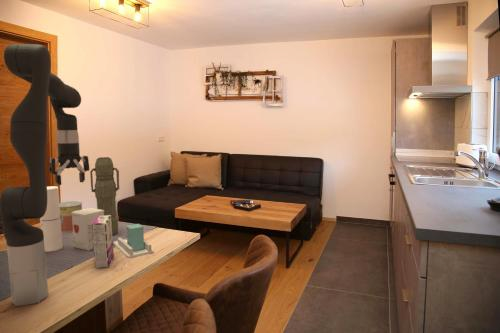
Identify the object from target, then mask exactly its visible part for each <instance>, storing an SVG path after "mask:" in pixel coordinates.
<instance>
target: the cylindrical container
mask: <svg viewBox="0 0 500 333" xmlns="http://www.w3.org/2000/svg"><path fill="white" fill-rule="evenodd" d="M59 197H60V195H59V187H58V186H52V185H51V186H47V209H46V212H45V214H44V216H43V217H41V218H39V223H40V224H39V225H40V229H42V231H43V234H44V247H45V253H47V252H48V253H49V252H56V251H60V250H62V249H63V237H62V236H63V235H62V234H63V232H61V220H60V206H59V203H60V198H59Z"/></svg>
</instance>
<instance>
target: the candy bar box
mask: <svg viewBox="0 0 500 333" xmlns="http://www.w3.org/2000/svg"><path fill="white" fill-rule="evenodd" d="M92 232H93V245H94V249H93V254H94V255H93V257H94V258H93V259H94V269H104V268H107V269H108V268H109V267H110V266H111V263H112V261H113V259H114V256H115V255H114V244H113V242H114V241H113V240H114V239H113V237H114V236H112V223H111V215H103V216H102V215H101V216H98V217H97V218H96V220H95V221H94V222H93V224H92Z"/></svg>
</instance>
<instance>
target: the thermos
mask: <svg viewBox="0 0 500 333" xmlns="http://www.w3.org/2000/svg"><path fill="white" fill-rule="evenodd" d="M119 171H120V170H119V169H118V168H117V167H114V163H113V160H112V158H111V157H109V156H108V157H107V156H106V157H105V156H104V157H103V156H102V157H98V158H96V160H95V164H94V168H91V170H89V173H90V175H89V176H90V187H91V188H90V189H91V192H92V193H94V196H95V199H96V209H100V210H104V215H111V223H112V237H115V236H116V235H118V234H119V230H118V229H119V222H118V218H117V204H116V197H117V192H118V190H120V172H119ZM93 172H95V182H94V179H93V178H94V177H93ZM114 172H116V174H115V173H114ZM114 174H115V175H116V181H115V177H114Z"/></svg>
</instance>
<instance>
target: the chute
mask: <svg viewBox="0 0 500 333" xmlns="http://www.w3.org/2000/svg"><path fill="white" fill-rule="evenodd" d="M113 246H115V247H116V248H117V249H118V250H119V251H120V252H121V253H122V254H123V255H124V256H125V258H127V259H131V258H136V257H139V256H141V257H142V256H144V255H150V254H153V253H154V252H155V251H154V250H153V249H152V244H151V243H150V242H148V241H147V240H146V239H144V249H140V250H136V251H133V248H132V247H131V246H129V245H128V244H127V238H126V239H125V238H124V239H123V238H122V237H117V240H116V241H113Z"/></svg>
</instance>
